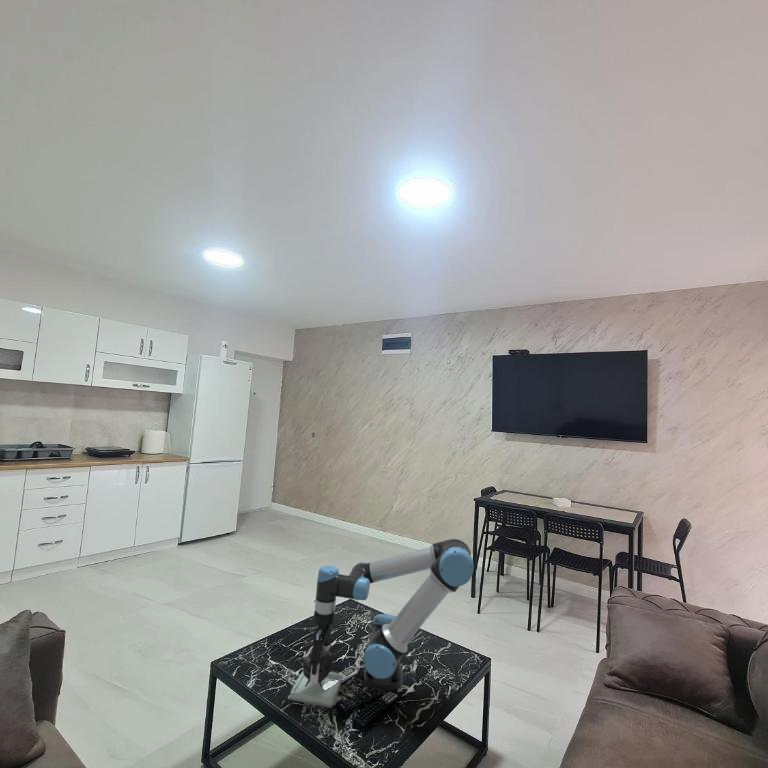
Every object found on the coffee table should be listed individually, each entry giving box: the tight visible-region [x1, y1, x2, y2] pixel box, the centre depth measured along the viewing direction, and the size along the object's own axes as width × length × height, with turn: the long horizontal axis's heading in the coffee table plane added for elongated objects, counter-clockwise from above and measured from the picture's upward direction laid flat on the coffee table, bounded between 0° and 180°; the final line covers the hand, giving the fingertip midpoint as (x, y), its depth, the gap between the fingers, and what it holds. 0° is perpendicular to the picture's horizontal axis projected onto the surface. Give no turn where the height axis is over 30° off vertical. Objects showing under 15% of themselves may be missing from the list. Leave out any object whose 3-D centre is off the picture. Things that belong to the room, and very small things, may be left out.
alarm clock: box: [302, 642, 334, 687], centre depth 152 cm, size 11×5×16 cm, turn 137°
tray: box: [289, 671, 344, 709], centre depth 152 cm, size 15×15×2 cm
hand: (318, 673), depth 152 cm, fingers closed on alarm clock, 11 cm apart
